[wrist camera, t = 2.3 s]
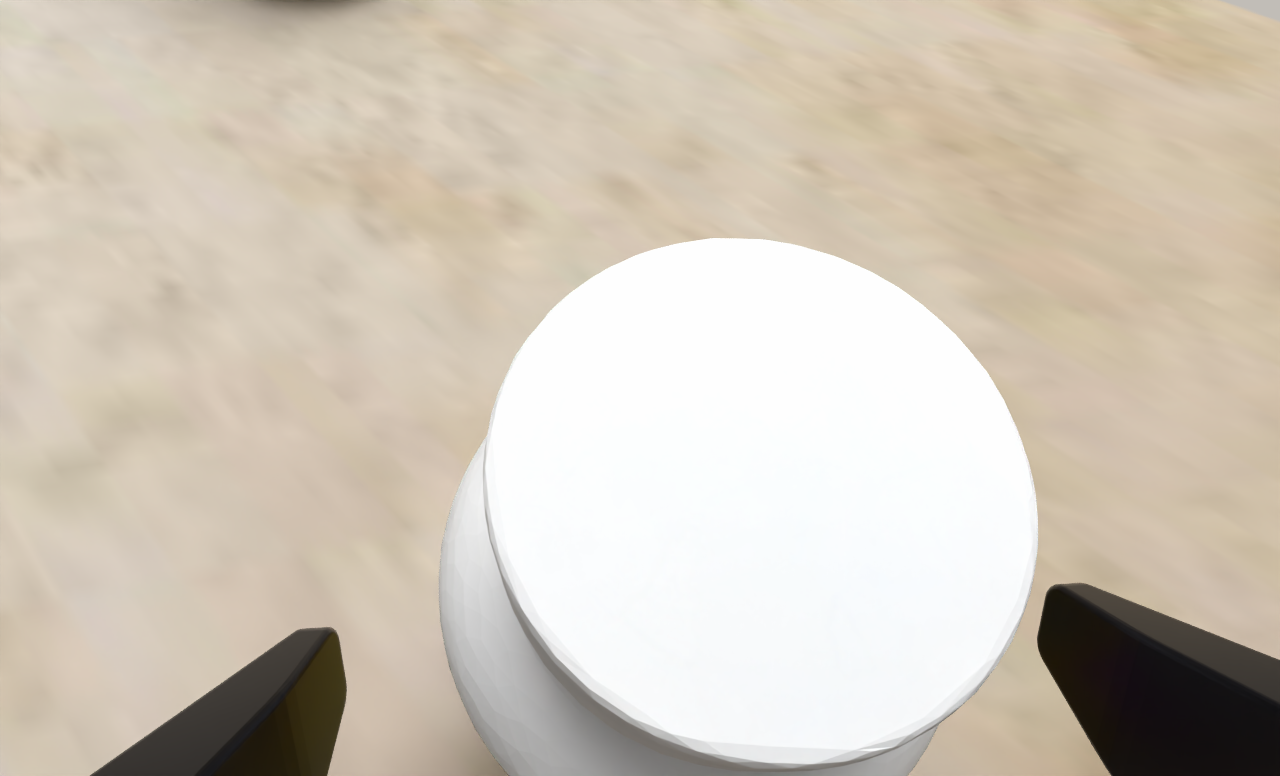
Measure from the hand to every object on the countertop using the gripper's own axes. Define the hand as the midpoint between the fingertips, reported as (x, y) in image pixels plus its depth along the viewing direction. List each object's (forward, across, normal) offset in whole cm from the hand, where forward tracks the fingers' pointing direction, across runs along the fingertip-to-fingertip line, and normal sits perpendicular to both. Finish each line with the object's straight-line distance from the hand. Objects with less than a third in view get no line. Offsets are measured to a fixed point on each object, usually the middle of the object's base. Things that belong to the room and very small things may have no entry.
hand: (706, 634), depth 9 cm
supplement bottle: (+7, 0, +6) cm, 9 cm away
